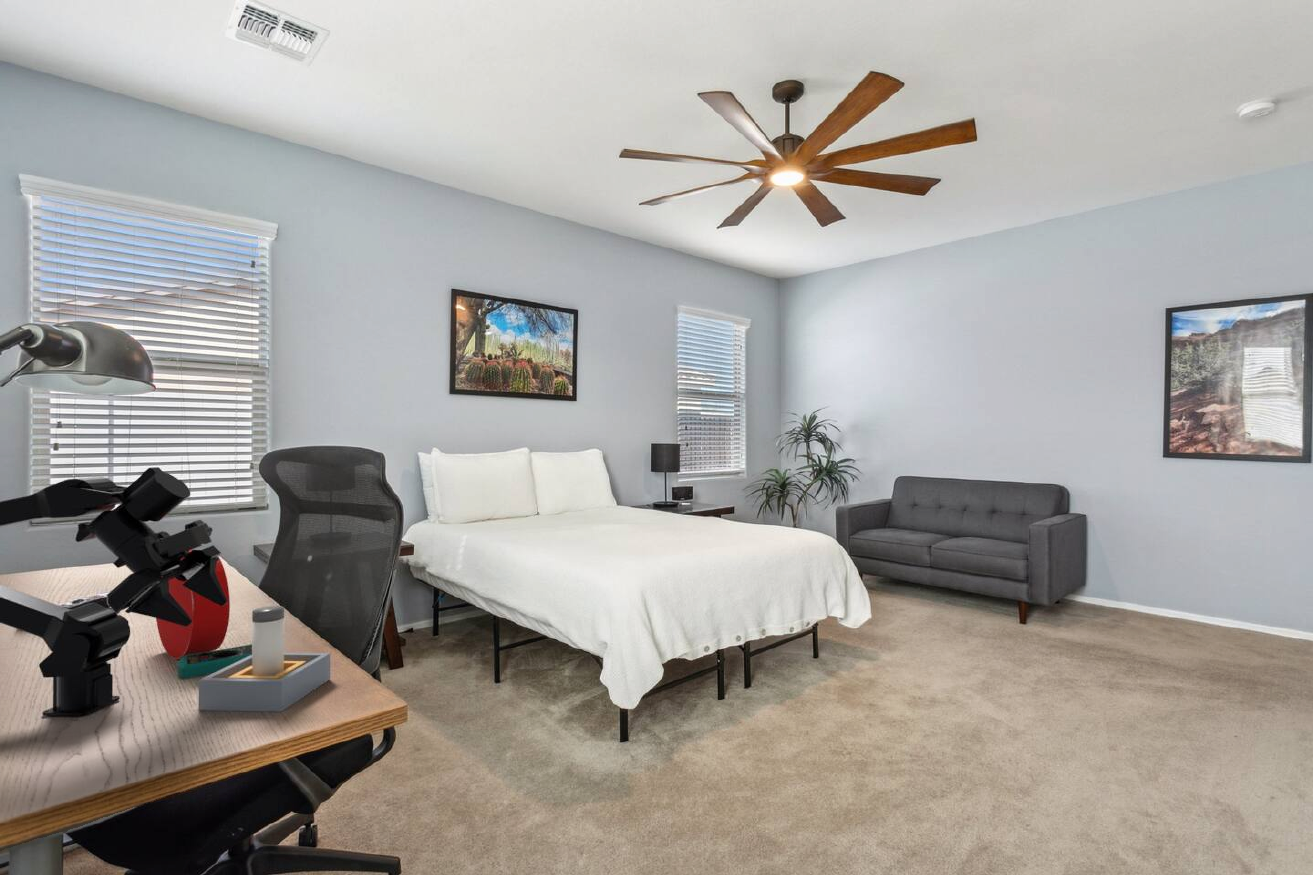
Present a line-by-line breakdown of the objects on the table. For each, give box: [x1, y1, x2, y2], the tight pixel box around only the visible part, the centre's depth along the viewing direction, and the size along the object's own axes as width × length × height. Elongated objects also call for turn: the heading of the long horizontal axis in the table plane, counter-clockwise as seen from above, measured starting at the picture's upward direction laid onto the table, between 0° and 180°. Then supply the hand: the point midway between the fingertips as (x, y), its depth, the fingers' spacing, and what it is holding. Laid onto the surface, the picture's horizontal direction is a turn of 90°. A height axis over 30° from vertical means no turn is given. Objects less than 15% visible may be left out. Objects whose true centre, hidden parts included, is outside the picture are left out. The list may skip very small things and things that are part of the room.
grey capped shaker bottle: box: [251, 605, 285, 676], centre depth 103 cm, size 4×4×12 cm
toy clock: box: [155, 548, 231, 660], centre depth 123 cm, size 20×6×20 cm, turn 54°
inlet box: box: [197, 652, 331, 713], centre depth 103 cm, size 13×13×4 cm
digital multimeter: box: [177, 643, 252, 680], centre depth 116 cm, size 7×15×3 cm, turn 127°
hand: (208, 613), depth 101 cm, fingers open, 9 cm apart
